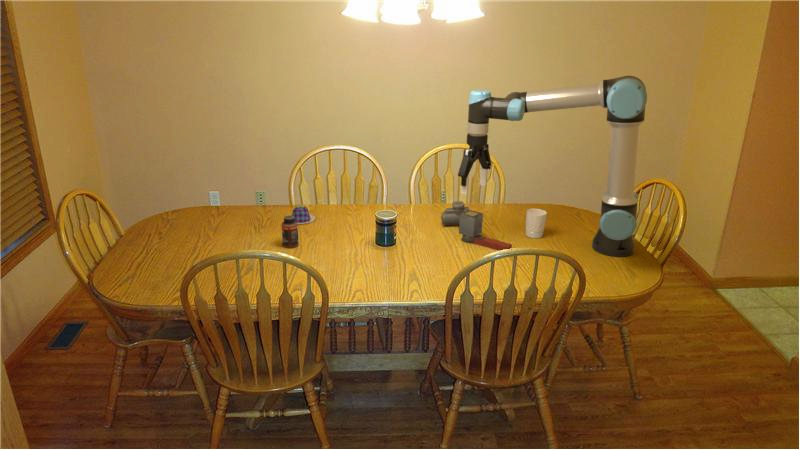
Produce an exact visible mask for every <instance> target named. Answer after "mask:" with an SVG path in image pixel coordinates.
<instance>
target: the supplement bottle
mask: <svg viewBox="0 0 800 450" xmlns="http://www.w3.org/2000/svg"><path fill="white" fill-rule="evenodd" d="M291 215H292V214H291ZM291 215H285V216H283V222H282V223H281V235H282V236H281V237H282V238H281V239H282V246H283V247H285V248H287V249H293V248H296V247H298V246H299V244H300V242H299V227H298V225H299V224H297V222H296V221H295V217H294V216H291Z"/></svg>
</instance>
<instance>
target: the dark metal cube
mask: <svg viewBox="0 0 800 450" xmlns="http://www.w3.org/2000/svg"><path fill="white" fill-rule="evenodd" d="M483 220H484V213H483V212H479V211H476V210H471V209H469V210H467V211H465V212H463V213H461V214H460V223H459V224H458V225H459V226H458V234H460V235H462V234H463V235H466V236H470V237H475V236H477V235H481V234H482V232H483V222H484V221H483Z"/></svg>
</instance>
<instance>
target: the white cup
mask: <svg viewBox="0 0 800 450" xmlns="http://www.w3.org/2000/svg"><path fill="white" fill-rule="evenodd" d="M547 214H548V212H547V211H546V210H544V209H541V208H529V209H528V208H527V210H526V213H525V236H526V237H528V238H530V239H541V238H542V237H543V235H544V231H545V225H546V220H547V216H548V215H547Z"/></svg>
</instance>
